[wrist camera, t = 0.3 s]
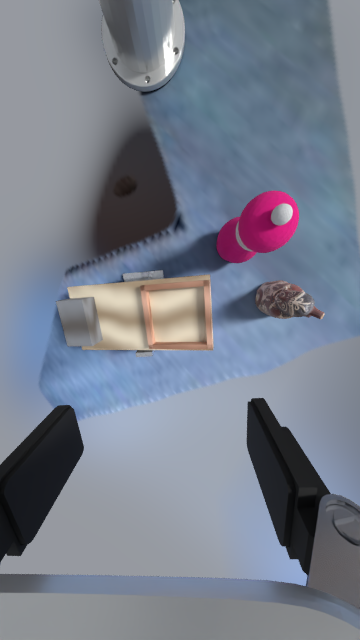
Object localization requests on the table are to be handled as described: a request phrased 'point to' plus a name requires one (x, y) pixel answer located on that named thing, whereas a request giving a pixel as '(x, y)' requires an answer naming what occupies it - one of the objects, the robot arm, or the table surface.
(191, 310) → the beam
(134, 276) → the fulcrum
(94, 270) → the table surface
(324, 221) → the table surface
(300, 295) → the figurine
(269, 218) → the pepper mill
